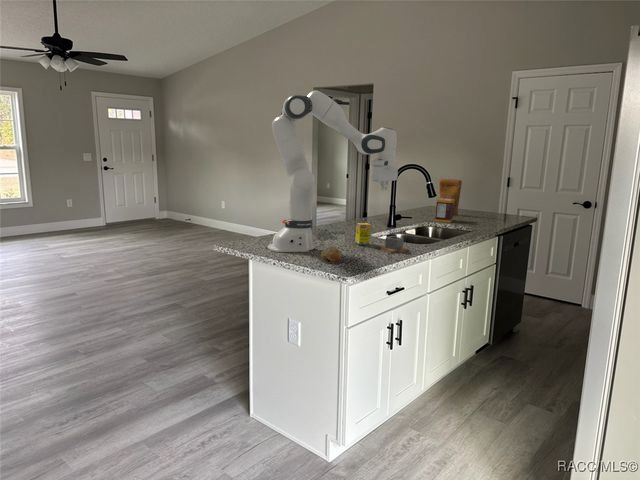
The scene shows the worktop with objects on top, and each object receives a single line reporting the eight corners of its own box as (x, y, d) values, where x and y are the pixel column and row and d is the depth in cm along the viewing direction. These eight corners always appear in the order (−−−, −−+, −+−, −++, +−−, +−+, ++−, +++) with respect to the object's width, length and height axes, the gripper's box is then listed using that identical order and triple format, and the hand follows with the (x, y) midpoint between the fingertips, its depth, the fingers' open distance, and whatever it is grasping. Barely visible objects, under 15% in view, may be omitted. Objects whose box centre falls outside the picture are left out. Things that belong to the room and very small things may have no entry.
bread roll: (318, 269, 203) (316, 254, 198) (325, 255, 210) (323, 240, 206) (339, 271, 199) (337, 257, 195) (346, 257, 207) (345, 243, 202)
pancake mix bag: (456, 216, 355) (459, 180, 349) (435, 213, 368) (438, 178, 363) (460, 215, 360) (464, 179, 354) (439, 212, 373) (442, 178, 367)
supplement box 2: (453, 220, 337) (455, 198, 334) (449, 222, 324) (451, 200, 321) (438, 218, 342) (440, 197, 338) (434, 221, 328) (436, 199, 325)
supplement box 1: (359, 245, 236) (360, 224, 234) (355, 243, 242) (356, 222, 240) (369, 245, 238) (371, 224, 236) (365, 243, 244) (366, 222, 241)
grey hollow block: (396, 249, 224) (397, 239, 223) (384, 247, 228) (385, 237, 227) (402, 247, 230) (403, 237, 229) (391, 245, 233) (391, 236, 232)
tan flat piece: (389, 253, 222) (390, 244, 221) (378, 248, 232) (378, 240, 231) (409, 251, 226) (409, 243, 226) (397, 247, 236) (397, 239, 235)
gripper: (390, 161, 234) (388, 188, 237) (369, 161, 218) (368, 190, 221) (401, 162, 231) (399, 189, 234) (381, 162, 215) (379, 192, 217)
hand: (384, 190), depth 227 cm, fingers closed
